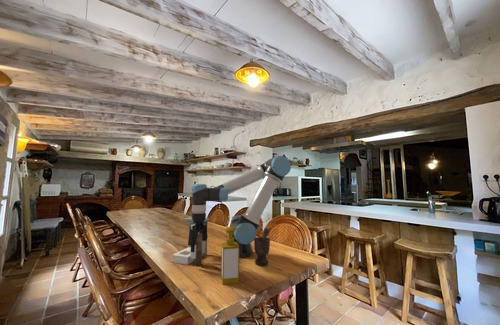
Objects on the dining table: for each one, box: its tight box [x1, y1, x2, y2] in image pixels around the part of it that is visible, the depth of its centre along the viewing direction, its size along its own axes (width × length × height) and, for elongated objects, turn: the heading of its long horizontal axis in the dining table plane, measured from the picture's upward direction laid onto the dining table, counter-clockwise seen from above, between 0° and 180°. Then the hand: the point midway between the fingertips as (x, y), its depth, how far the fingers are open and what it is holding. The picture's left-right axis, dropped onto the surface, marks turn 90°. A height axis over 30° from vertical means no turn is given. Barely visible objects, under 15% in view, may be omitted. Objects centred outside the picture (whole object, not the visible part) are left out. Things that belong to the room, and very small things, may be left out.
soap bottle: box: [220, 226, 249, 285], centre depth 98 cm, size 7×13×24 cm, turn 102°
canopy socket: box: [171, 216, 210, 266], centre depth 125 cm, size 14×18×22 cm
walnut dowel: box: [193, 233, 203, 267], centre depth 115 cm, size 4×4×16 cm
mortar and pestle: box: [253, 227, 271, 267], centre depth 116 cm, size 12×9×20 cm
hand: (197, 255), depth 115 cm, fingers open, 8 cm apart
